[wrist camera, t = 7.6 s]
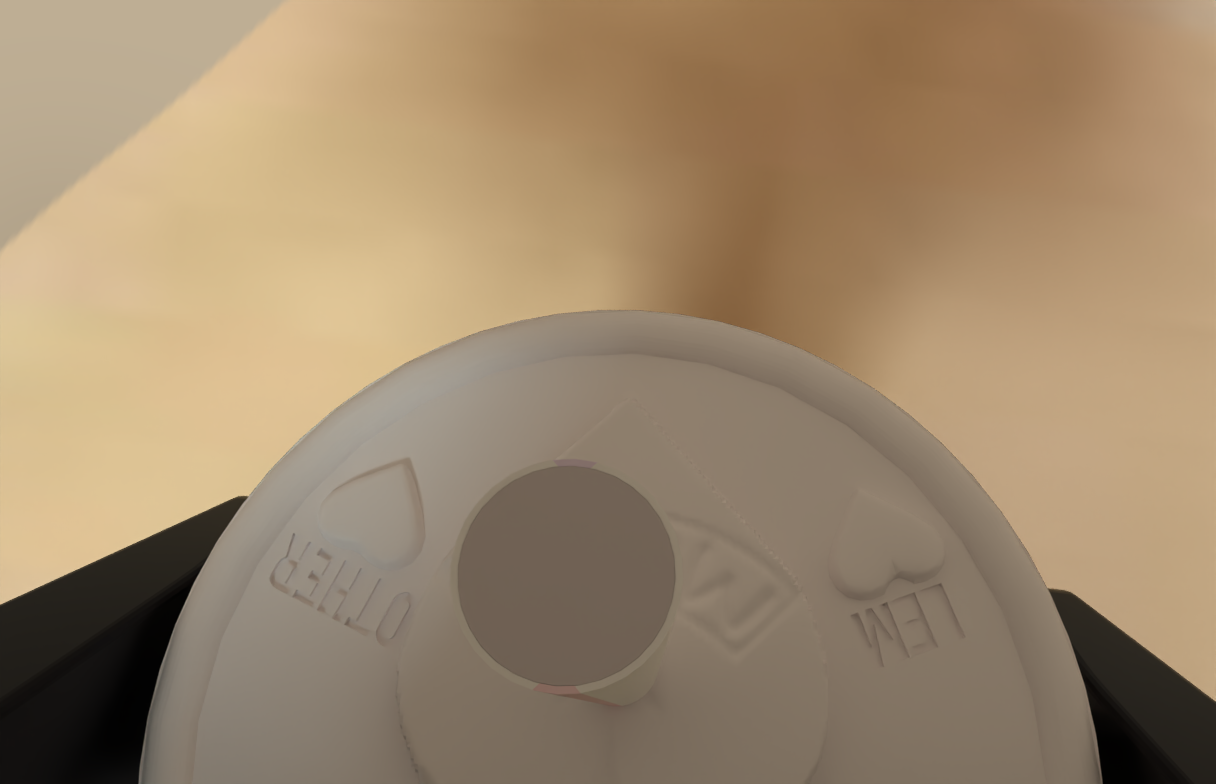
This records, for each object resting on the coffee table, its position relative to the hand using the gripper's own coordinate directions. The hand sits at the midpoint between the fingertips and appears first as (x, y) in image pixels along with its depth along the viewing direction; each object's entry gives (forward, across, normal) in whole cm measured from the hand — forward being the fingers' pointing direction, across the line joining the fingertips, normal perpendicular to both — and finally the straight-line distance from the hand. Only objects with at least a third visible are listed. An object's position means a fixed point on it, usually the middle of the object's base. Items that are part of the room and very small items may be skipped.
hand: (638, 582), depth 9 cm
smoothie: (+5, 0, +6) cm, 8 cm away
